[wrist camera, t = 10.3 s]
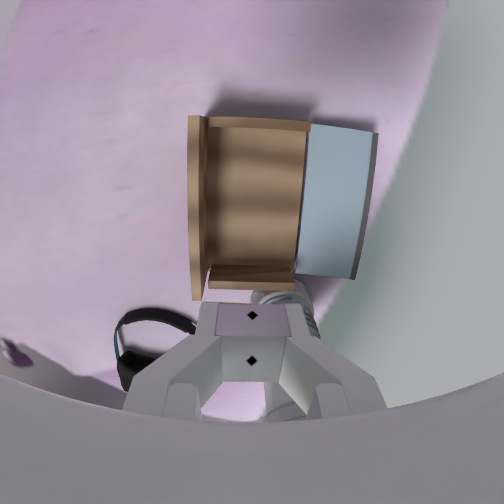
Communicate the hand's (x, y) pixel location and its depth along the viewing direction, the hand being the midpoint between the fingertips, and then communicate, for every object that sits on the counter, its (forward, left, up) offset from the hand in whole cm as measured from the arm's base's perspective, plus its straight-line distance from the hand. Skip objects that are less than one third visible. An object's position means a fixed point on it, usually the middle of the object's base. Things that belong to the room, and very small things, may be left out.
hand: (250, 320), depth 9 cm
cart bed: (+4, +1, -34) cm, 34 cm away
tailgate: (+4, +8, -31) cm, 32 cm away
